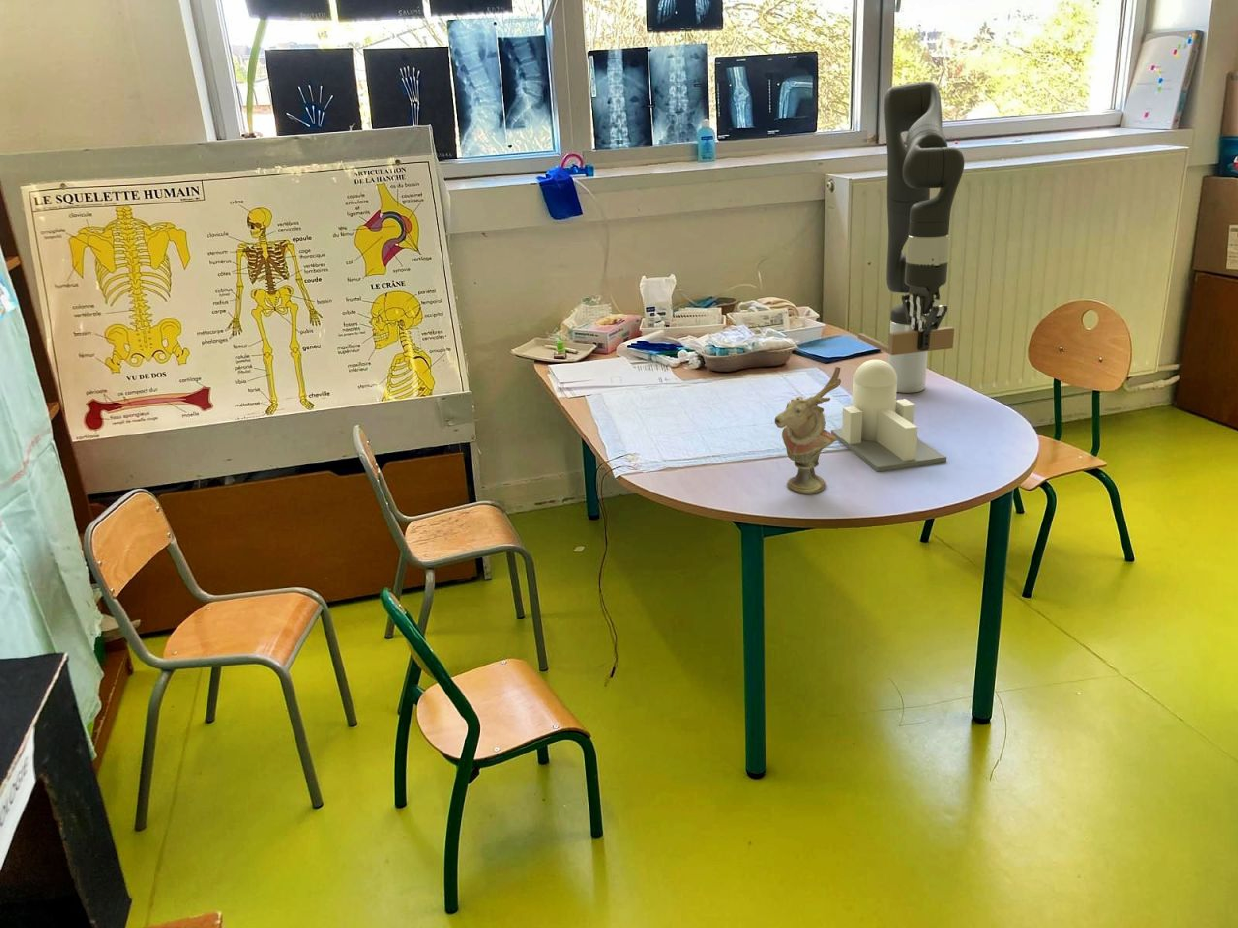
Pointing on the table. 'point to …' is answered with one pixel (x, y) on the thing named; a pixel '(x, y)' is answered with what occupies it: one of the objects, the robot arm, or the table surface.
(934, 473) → the table surface
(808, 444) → the decorative bust
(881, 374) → the bracket-mounted cylinder
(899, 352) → the brown u-shaped frame
